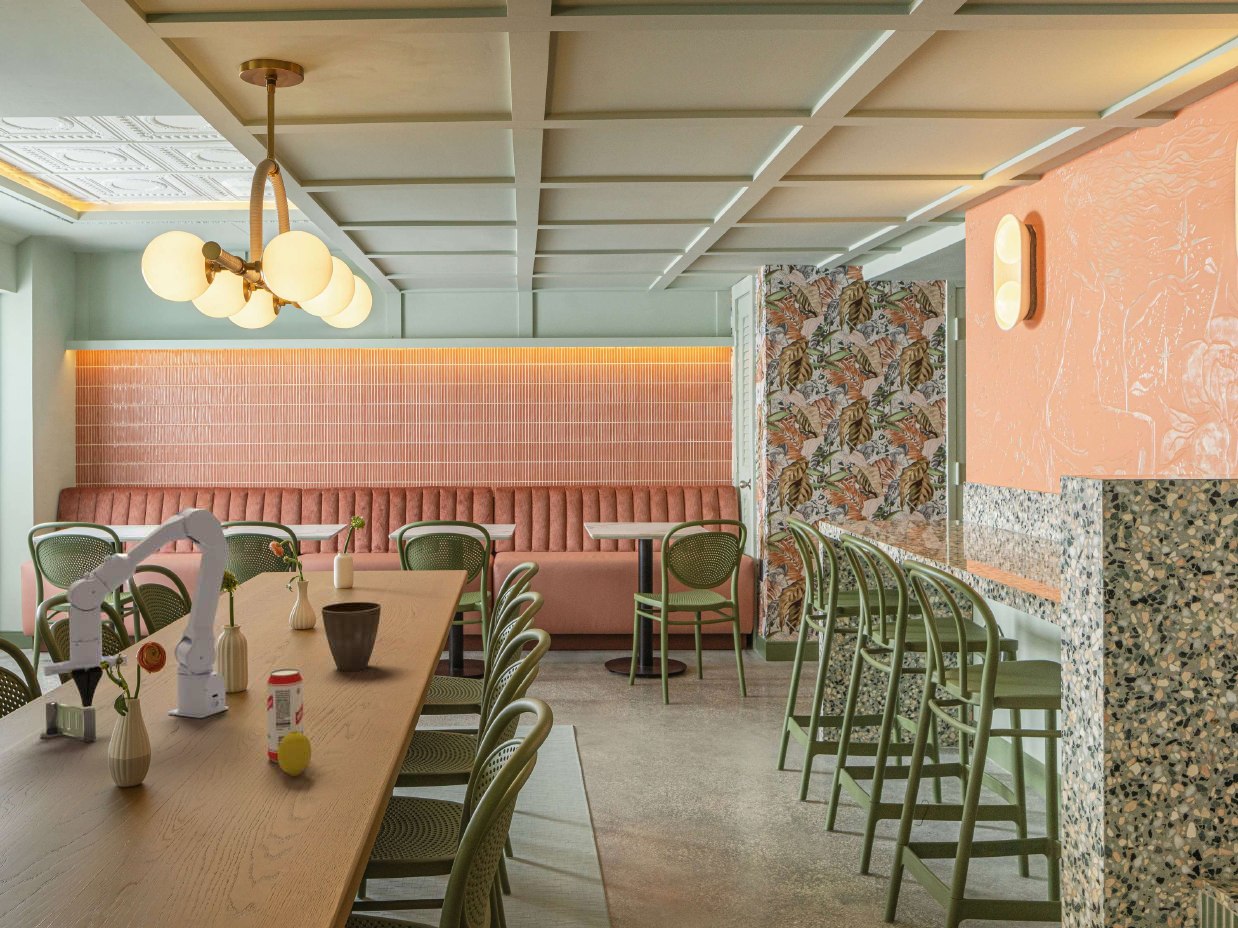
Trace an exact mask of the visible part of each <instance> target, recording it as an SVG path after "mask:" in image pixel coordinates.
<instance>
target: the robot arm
mask: <svg viewBox="0 0 1238 928" xmlns="http://www.w3.org/2000/svg"><path fill="white" fill-rule="evenodd" d="M187 539H188V540H190V541H191V542H193V544H195V546H196V548H198V549H199V550H200V552H201V559H200V562H199V567H198V574H197V578H196V583H195V588H194V593H193V596H192V603H191V608H190V613H189V618H188V623H187V624H186V627H185V628H184V629H183V631H182V635H181V639H180V640H179V641H178V643H177V644H176V646H175V647H174V657H175V660H176V661H177V662H178V663H179V666H178V668H177V671H176V681H177V682H176V683H177V687H176V690H177V692H176V693H177V696H176V697H177V699H176V700H177V701H176V702H177V708H176V709H172V710H168V711H167V713H168V715H175V716H180V717H181V716H182V717H190V718H198V719H201V718H202V719H203V718H205V717H208V716H209V717H210V716H212V715H214V714H218V713H220V712H223V711H225V710H226V711H227V710H228V709H229V706H226V679H225V677H224V676H223V675H222V674H221V673H219V672H216V671H215V670H214V664H215V663H216V659H217V652H216V649H215V640H216V638H215V637H216V636H215V632H214V631H215V630H214V626H215V625H214V623H215V619H216V614H217V610H218V604H219V601H220V595H221V589H222V584H223V579H224V574H225V569H226V565H227V559H228V556H229V555H228V554H229V544H228V541H227V538H226V537H225V534H224V532H223V529H222V522H221V520H220V519H218V518H217V516H216V515H214V513H212V512H211V511H210V510H207V509H200V508H196V507H186V508H184V509H181V510H180V511H179V512H178V513H177V514H174V515H172V516H170V517H168V519H166V520H164V522H162V523H161V524H160V525H159V526H158V527H156V528H155V529H154V530H153V531H151V532H150V533H149V534H148V535H146V536H145V537H144V538H143V539H142V540H140V541H139V542H138V543H136V544H135V545H134V546H133V547H132V548H131V549H129V550H128V551H127V552H126V553H114V554H113V555H110V554H108V555H106V556H105V557H104V558H103V560H104V562H102V563H101V564H99V565H98V566H97V567H95V568H94V569H93V570H91V572H89V571H85V572H84V574H83V577H84V578H81V579H78V580H75V581H74V582H72V583H71V584H70V585H69V587H68V589H67V592H66V593H65V599H66V600H67V602H68V604H70V605H69V618H68V621H69V622H68V623H69V626H68V627H69V629H68V630H69V660H66V661H61V662H55V663H50V664H49V663H48V664H43V674H44V676H45V677H50V676H51V677H52V676H53V675H59V674H67V673H68V674H69V673H70V676H71V677H72V679H73V681H74V683H75V685H76V687H77V690H78V693H79V696H80V699H81V706H82V707H83V708H87V707H88V708H90V707H91V706H93V699H94V696H95V693H96V689H97V687H98V685H99V682H100V680H101V679H102V676H103V674H104V671H103V668H102V669H101V668H100V667H99V666H98V665H99V664H100V662H104V661H107V660H109V661H110V667H109V668H112V667H117V666H116V664H115V661H116V658H117V657H118V656H119V655H106V656H103V637H102V636H103V629H102V627H103V626H102V622H103V621H102V612H101V605H102V604H103V603H104V600H105V597H106V595H109V594H111V593H112V592H114V591H115V590H116V589H118V588H119V587H120V586H122V585H123V584H124V583H126V582H127V581H128V580H129V579H131V578H132V577H133V576H134V575H135V574H136V569H137V565H139V564H140V563H141V562H143V561H144V560H146V559H147V558H149V557H150V556H151V555H153V554H154V553H156V552H158V551H159V550H160V549H161V548H163V547H165V546H166V545H167V544H169V543H171V542H176V541H184V540H185V541H186V540H187ZM222 572H223V573H222ZM121 656H122V658H123V662H122V663H121V665H120V666H119V667H124V666H127V665H128V664H127V662H128V661H127V660H128V659H127V655H125V654H121Z"/></svg>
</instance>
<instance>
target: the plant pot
mask: <svg viewBox="0 0 1238 928" xmlns="http://www.w3.org/2000/svg"><path fill="white" fill-rule="evenodd" d="M320 609H321V616H322V620H323V621H322V622H323V626H324V631H325V636H326V640H327V643H328V647H329V649H330V652H331V656H332V658H333V661H334V663H335V666H336V668H337V670H338V669H339V671H341V670H342V672H354V671H360V670H361V669H362V670H365V669H366V668H367V667H368V665H369V662H370V659H371V657H372V653H373V650H374V646H375V643H376V638H377V634H378V630H379V624H380V618H381V610H382V604H380V603H376V602H369V601H351V602H341V603H340V602H339V603H334V604H328V605H325V606H322V607H321V608H320ZM362 670H361V671H362Z"/></svg>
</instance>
